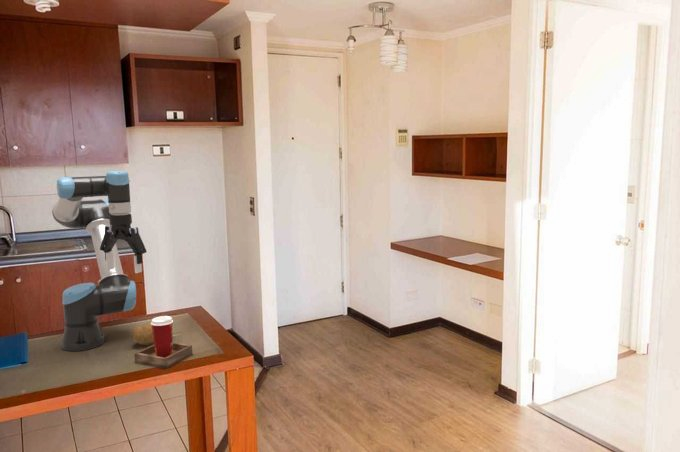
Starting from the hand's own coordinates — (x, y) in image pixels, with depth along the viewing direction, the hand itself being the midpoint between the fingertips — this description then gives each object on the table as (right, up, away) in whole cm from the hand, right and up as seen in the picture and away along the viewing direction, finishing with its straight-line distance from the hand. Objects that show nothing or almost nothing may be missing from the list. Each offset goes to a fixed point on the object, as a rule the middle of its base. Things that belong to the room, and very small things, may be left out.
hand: (124, 271), depth 201 cm
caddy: (+16, -31, -4) cm, 36 cm away
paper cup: (+16, -31, -5) cm, 35 cm away
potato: (+6, -29, +12) cm, 32 cm away
